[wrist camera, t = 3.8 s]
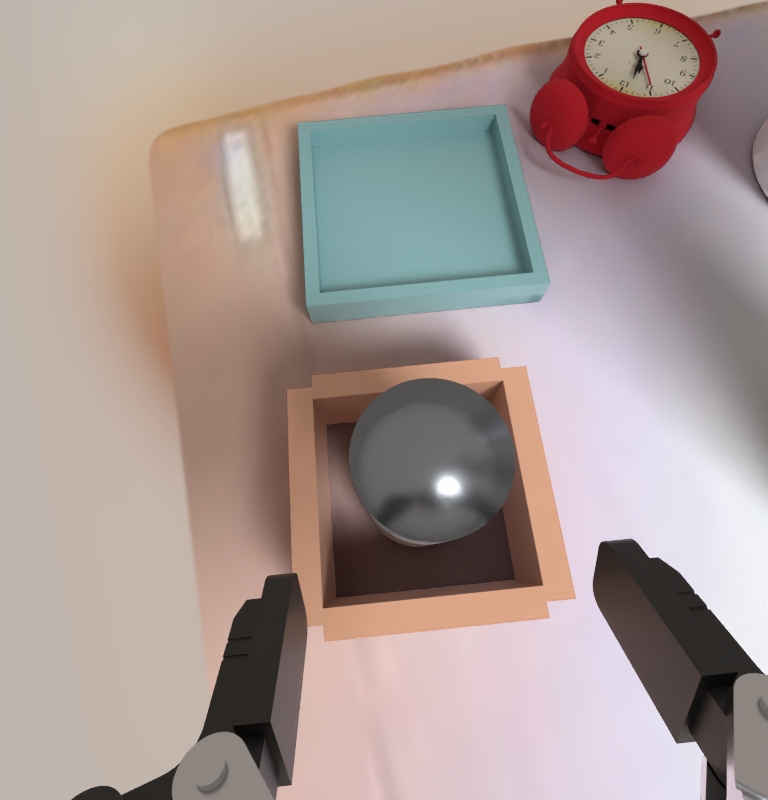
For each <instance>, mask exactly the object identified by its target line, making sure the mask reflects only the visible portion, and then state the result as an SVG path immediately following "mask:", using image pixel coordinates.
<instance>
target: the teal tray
mask: <svg viewBox="0 0 768 800" xmlns="http://www.w3.org/2000/svg"><path fill="white" fill-rule="evenodd" d="M298 140H299V162H300V183H301V205H302V226H303V248H304V269H305V291H306V307H307V310H308V313H309V316H310V318H311V321H312V323H322V322H332V321H342V320H353V319H363V318H374V317H384V316H394V315H405V314H415V313H426V312H436V311H447V310H457V309H467V308H478V307H488V306H499V305H509V304H520V303H530V302H540V300H541V298H542V297H543V295H544V293H545V291H546V290H547V288H548V286H549V285H550V279H549V275H548V271H547V268H546V264H545V260H544V256H543V252H542V248H541V244H540V240H539V236H538V232H537V228H536V224H535V220H534V216H533V212H532V208H531V204H530V200H529V196H528V192H527V188H526V184H525V180H524V176H523V172H522V168H521V164H520V160H519V156H518V152H517V148H516V144H515V140H514V136H513V132H512V128H511V124H510V120H509V116H508V112H507V108H506V105H505V104H504V105H493V106H482V107H471V108H460V109H449V110H438V111H427V112H416V113H405V114H394V115H383V116H371V117H360V118H349V119H338V120H327V121H316V122H305V123H298Z"/></svg>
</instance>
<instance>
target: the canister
mask: <svg viewBox="0 0 768 800" xmlns="http://www.w3.org/2000/svg"><path fill="white" fill-rule="evenodd" d="M349 468H350V474H351V478H352V482H353V485H354V487H355V490H356V492H357V494H358V496H359V498H360V500H361V501H362V503H363V505H364V506H365V508H366V510H367V511H368V513H369V514H370V516H371V517H372V519H373V521H374V522H375V524H376V525H377V527H378V528H379V529H380V531H381V532H382V533H383V534H384V535H385V536H387V537H388V538H389V539H391V540H393V541H394V542H396V543H399V544H401V545H405V546H410V547H422V546H428V545H433V544H437V543H442V542H447V541H452V540H456V539H459V538H462V537H465V536H467V535H469V534H471V533H474V532H476V531H477V530H479V529H480V528H482V527H483V526H485V525H486V524H487V523H488V522H489V521H490V520H491V519H492V518H494V516H495V515H496V514H497V513H498V512H499V510H500V509H501V508H502V506H503V504H504V503H505V501H506V499H507V497H508V495H509V493H510V490H511V487H512V484H513V480H514V474H515V451H514V445H513V441H512V438H511V435H510V432H509V430H508V427H507V425H506V424H505V422H504V420H503V418H502V417H501V415H500V414H499V413H498V411H497V410H496V409H495V408H494V407H493V405H492V404H491V403H490V402H489V401H488V400H486V399H485V398H484V397H483V396H482V395H480V394H479V393H477V392H476V391H474V390H472V389H471V388H469V387H467V386H464V385H462V384H460V383H457V382H454V381H450V380H445V379H438V378H420V379H414V380H409V381H406V382H402V383H400V384H398V385H395V386H393V387H391V388H389V389H388V390H386V391H384V392H383V393H381V394H380V395H379V396H378V397H376V398H375V399H374V400H373V401H372V402H371V403H370V404H369V405H368V406H367V408H366V409H365V410H364V412H363V413H362V414H361V416H360V418H359V420H358V421H357V423H356V426H355V428H354V431H353V434H352V437H351V441H350V448H349Z"/></svg>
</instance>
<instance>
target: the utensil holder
mask: <svg viewBox="0 0 768 800" xmlns="http://www.w3.org/2000/svg"><path fill="white" fill-rule="evenodd" d="M753 166H754V171H755V174H756V177H757V180H758V182H759V184H760V186H761V188H762V190H763V192H764V193H765V195H766V196H767V198H768V118H767V119H766V121H765V122H764V123H763V125H762V126H761V128H760V129H759V131H758V133H757V135H756V138H755V141H754V145H753Z"/></svg>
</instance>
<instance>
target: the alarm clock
mask: <svg viewBox="0 0 768 800" xmlns="http://www.w3.org/2000/svg"><path fill="white" fill-rule="evenodd" d="M622 1H623V0H616V3H617V4H618V5H614V6H610V7H607V8H604V9H601V10H599V11H597V12H595V13H594V14H592V15H591V16H590V17H588V18H587V19H586V20H585V21H584V22H583V23H582V25H581V26H580V27H579V29H578V30H577V32H576V33H575V34H574V36H573V38H572V40H571V43H570V47H569V50H568V54H567V56H566V59H565V60H564V61H563V63H562V64H561V65H559V66H558V67H557V69H556V70H555V71H554V72H553V74H552V76H551V78H550V80H549V82H548V83H546V84H545V85H544V86H543V87H542V88H541V89H540V90H539V91H538V92H537V94H536V96H535V98H534V100H533V103H532V105H531V110H530V123H531V128H532V131H533V133H534V135H535V137H536V138H537V140H538V141H539V142H540V143H541V144H542V145H543V146H545V147H546V151H547V153H548V155H549V156H550V158H551V159H552V160H553V161H555V162H556V163H557V164H558V165H560V166H561V167H563V168H565V169H567V170H569V171H571V172H573V173H576V174H578V175H582V176H585V177H588V178H592V179H610V178H613V177H618V178H622V179H638V178H643V177H646V176H649V175H651V174H652V173H654V172H656V171H657V170H659V169H660V168H662V167H663V166H664V165H665V164H666V162H667V161H668V160H669V159H670V158H671V156H672V154H673V153H674V151H675V148H676V145H677V144H678V143H679V142H680V141H681V140H682V139H683V138H684V137H685V135H686V134H687V132H688V131H689V129H690V128H691V126H692V124H693V121H694V118H695V113H696V105H697V102H698V100H699V98H700V97H701V96H702V94H703V93H704V92H705V90H706V89H707V88H708V86H709V85H710V83H711V81H712V79H713V76H714V72H715V70H716V66H717V52H716V48H715V45H714V43H713V41H712V39H711V38H712V37H713V38H717V37H719V35H720V34H721V31H720V30H719V29H718V30H715V31H714V33H713V34H711V35H708V34H707V32H706V31H705V30H704V29H703V28H702V27H701V26H700V25H699V24H698V23H696V22H695V21H693V20H692V19H690V18H689V17H687V16H686V15H684V14H682V13H680V12H677V11H675V10H672V9H669V8H666V7H663V6H658V5H653V4H646V3H625V4H622ZM591 121H592V122H593V123H592V122H591ZM596 123H597V124H596ZM574 145H575V146H577V147H579V148H581V149H583V150H585V151H587V152H590V153H592V154H595V155H598V156H601V157H602V161H603V165H604V167H605V169H606V170H607V171H608V172H609V173H610V174H608V175H597V174H591V173H588V172H584V171H580V170H578V169H576V168H574V167H572V166H570V165H568V164H566V163H564V162H562V161H561V160H560V159H558V158H557V157H556V156H555V155H554V154H553V153H552V151H551V150H555V151H564V150H566V149H568V148H571V147H572V146H574Z"/></svg>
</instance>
